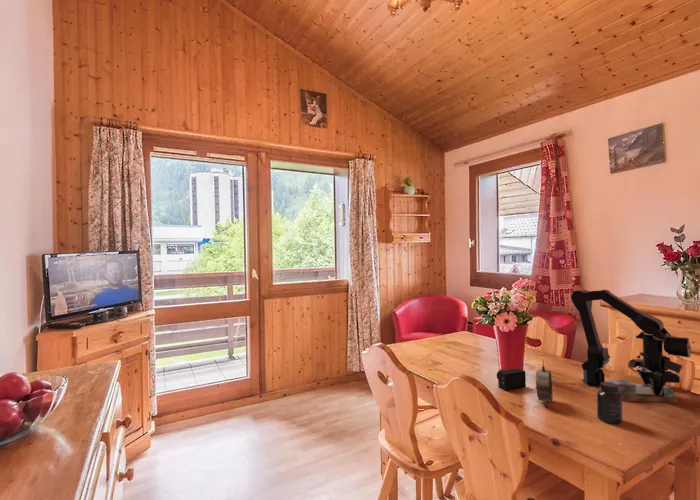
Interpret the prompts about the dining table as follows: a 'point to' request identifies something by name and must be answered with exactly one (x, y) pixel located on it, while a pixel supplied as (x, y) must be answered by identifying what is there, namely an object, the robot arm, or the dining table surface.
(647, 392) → the grey rectangular bar
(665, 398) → the tube stand
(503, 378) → the digital camera
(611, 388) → the supplement bottle
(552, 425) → the dining table surface
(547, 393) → the alarm clock
